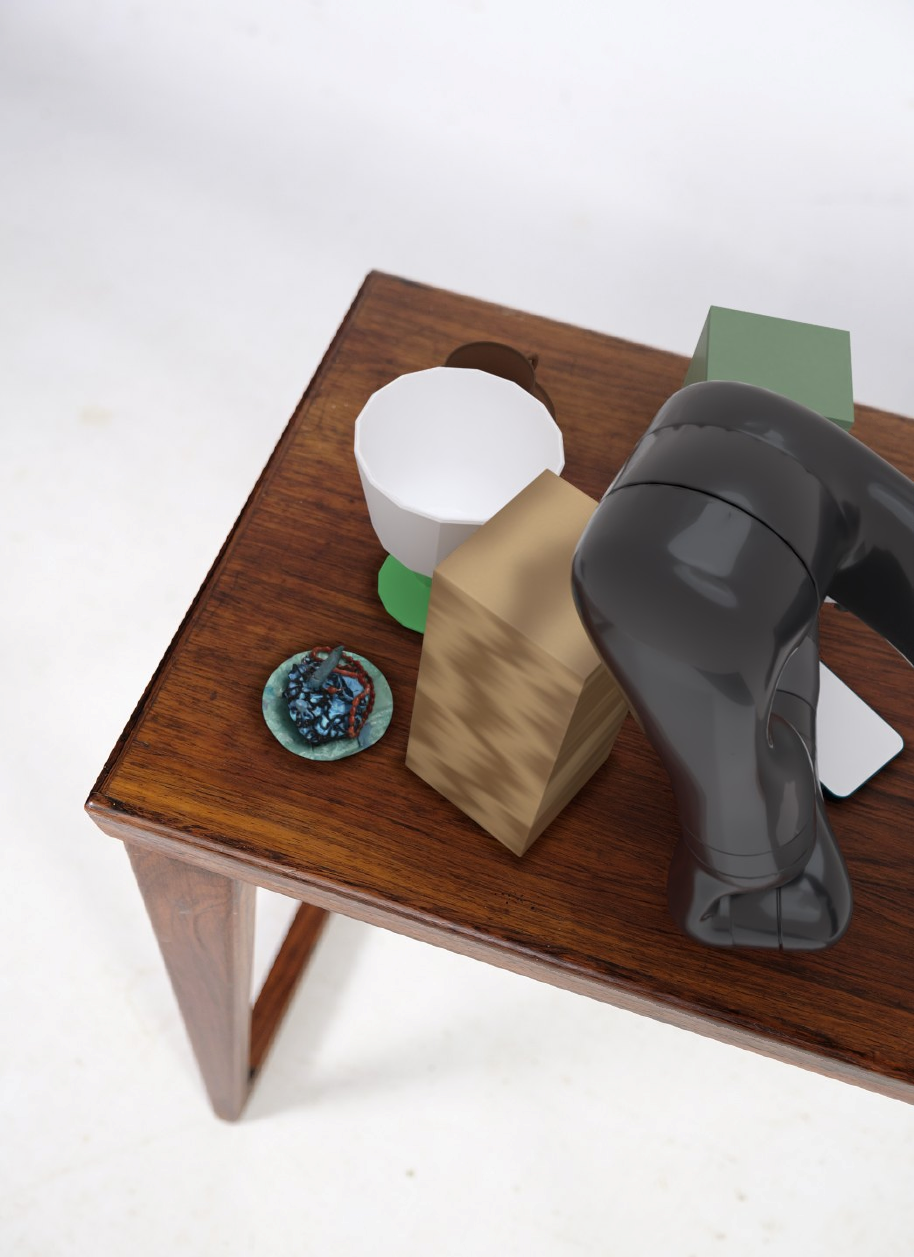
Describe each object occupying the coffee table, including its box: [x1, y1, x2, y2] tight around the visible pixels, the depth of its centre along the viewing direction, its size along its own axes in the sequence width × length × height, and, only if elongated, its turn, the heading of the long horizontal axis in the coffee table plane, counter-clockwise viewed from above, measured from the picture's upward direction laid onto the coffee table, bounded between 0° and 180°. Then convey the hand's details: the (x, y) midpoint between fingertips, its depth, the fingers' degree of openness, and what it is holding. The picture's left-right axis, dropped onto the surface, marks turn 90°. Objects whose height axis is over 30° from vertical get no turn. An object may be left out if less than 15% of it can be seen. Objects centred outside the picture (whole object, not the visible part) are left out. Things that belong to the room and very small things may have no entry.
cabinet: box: [680, 304, 855, 434], centre depth 95 cm, size 10×11×12 cm
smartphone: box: [817, 659, 906, 803], centre depth 87 cm, size 8×1×16 cm
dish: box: [261, 645, 394, 761], centre depth 82 cm, size 8×7×8 cm
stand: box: [404, 469, 629, 858], centre depth 73 cm, size 10×10×22 cm
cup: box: [353, 366, 566, 635], centre depth 83 cm, size 14×14×16 cm
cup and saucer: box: [440, 340, 557, 424], centre depth 97 cm, size 12×12×6 cm
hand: (762, 477), depth 89 cm, fingers closed on bin, 6 cm apart
